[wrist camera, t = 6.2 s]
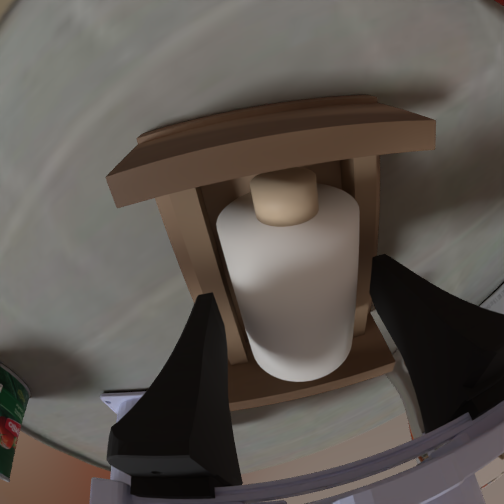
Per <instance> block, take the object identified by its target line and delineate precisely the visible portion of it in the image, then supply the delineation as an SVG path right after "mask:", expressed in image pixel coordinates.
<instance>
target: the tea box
mask: <svg viewBox="0 0 504 504" xmlns="http://www.w3.org/2000/svg"><path fill="white" fill-rule="evenodd" d="M479 307H482V308H485V309H488V310H491V311H494V312H498V313H501V314H504V284H503V285H501V286H500V287H499V288H498V289H497V290H496V291H495V292H494V293H493V294H492V295H491V296H490V297H489V298H488V299H487V300H485V301H484V302H483V303H482V304H481V305H480V306H479Z"/></svg>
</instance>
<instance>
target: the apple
mask: <svg viewBox="0 0 504 504" xmlns="http://www.w3.org/2000/svg"><path fill="white" fill-rule="evenodd" d="M495 1H496V2H498V3H500V4H501V5H503V6H504V0H495Z"/></svg>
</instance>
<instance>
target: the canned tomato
mask: <svg viewBox="0 0 504 504" xmlns="http://www.w3.org/2000/svg"><path fill="white" fill-rule="evenodd" d="M30 395H31V394H30V390H29V388H28V387H27V385H26V384H25V383H24V382H23V381H22V380H21V378H19V377H18V376H17V375H16V374H15V373H14V372H12V371H11V370H10V369H9V368H7V367H6V366H4V365H3V364H1V363H0V479H2V480H4V481H7V482H10V479H9V478H10V473H11V469H12V462H13V457H14V454H15V449H16V444H17V441H18V436H19V432H20V429H21V424H22V421H23V417H24V413H25V411H26V407H27V403H28V400H29V398H30Z"/></svg>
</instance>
